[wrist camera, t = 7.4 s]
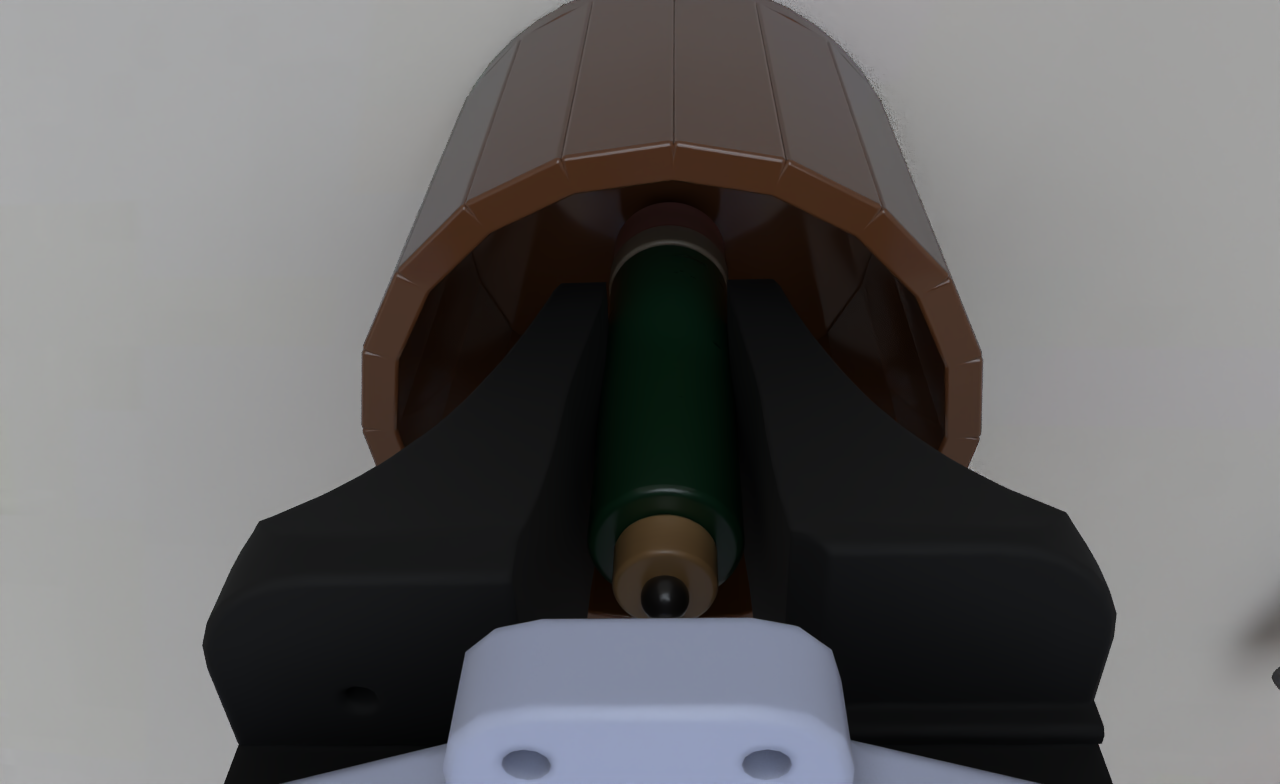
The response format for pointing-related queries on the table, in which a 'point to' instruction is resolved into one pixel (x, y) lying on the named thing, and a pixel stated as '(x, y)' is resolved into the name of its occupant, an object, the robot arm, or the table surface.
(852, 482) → the robot arm
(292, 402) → the table surface
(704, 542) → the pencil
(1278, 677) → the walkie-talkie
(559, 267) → the pencil cup
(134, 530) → the table surface
